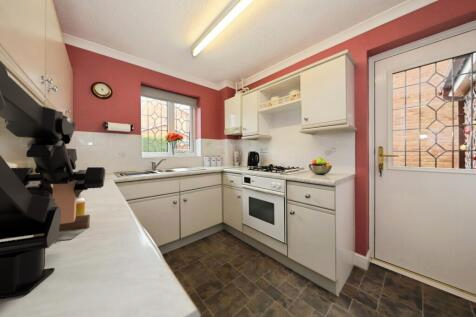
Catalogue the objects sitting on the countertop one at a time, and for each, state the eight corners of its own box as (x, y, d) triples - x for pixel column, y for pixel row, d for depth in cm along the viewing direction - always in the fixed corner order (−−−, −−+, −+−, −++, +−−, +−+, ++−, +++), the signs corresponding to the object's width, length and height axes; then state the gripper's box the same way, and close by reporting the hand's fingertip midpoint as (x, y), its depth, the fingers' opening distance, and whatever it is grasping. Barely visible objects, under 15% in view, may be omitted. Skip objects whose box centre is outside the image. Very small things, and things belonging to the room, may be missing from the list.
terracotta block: (73, 222, 49) (75, 175, 49) (51, 225, 46) (53, 175, 47) (75, 217, 53) (77, 174, 53) (54, 220, 50) (56, 174, 50)
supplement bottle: (88, 218, 64) (89, 191, 64) (73, 223, 59) (74, 194, 59) (75, 217, 65) (75, 191, 65) (59, 223, 59) (59, 194, 59)
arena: (71, 239, 47) (71, 224, 47) (26, 243, 45) (27, 227, 45) (89, 227, 56) (89, 214, 56) (53, 229, 53) (53, 216, 53)
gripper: (105, 139, 51) (109, 174, 61) (7, 133, 42) (29, 176, 51) (100, 167, 44) (105, 202, 54) (-19, 168, 35) (12, 210, 44)
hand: (66, 197), depth 51 cm, fingers closed on terracotta block, 5 cm apart
